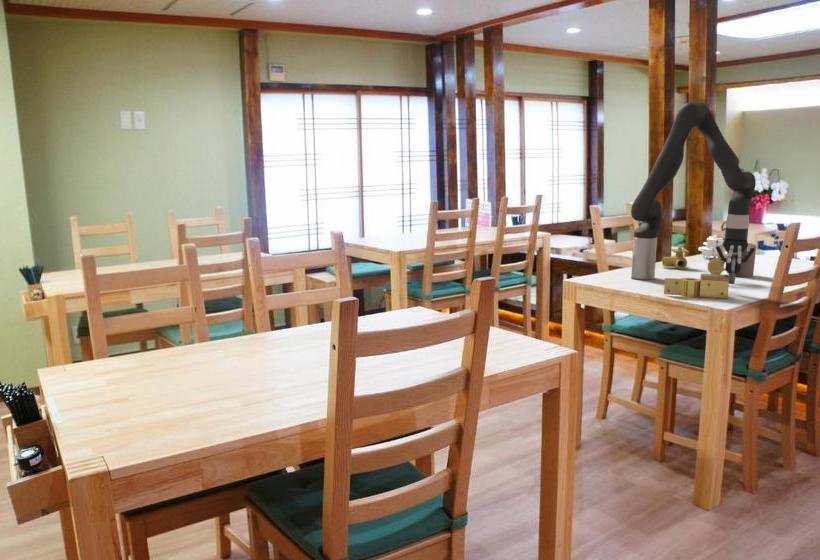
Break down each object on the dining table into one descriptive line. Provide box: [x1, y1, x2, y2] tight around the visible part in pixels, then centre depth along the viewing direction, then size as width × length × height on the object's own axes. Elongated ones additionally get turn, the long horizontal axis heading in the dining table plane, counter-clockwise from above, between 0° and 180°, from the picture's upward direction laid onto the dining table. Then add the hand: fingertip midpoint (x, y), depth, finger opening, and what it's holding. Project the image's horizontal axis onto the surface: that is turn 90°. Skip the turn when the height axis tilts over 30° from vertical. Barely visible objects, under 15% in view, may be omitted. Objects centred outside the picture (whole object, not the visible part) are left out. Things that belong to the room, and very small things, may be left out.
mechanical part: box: [698, 234, 726, 260], centre depth 331 cm, size 11×12×12 cm
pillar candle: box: [727, 242, 757, 278], centre depth 286 cm, size 10×10×15 cm
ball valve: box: [662, 246, 690, 270], centre depth 307 cm, size 13×10×10 cm
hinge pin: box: [728, 252, 738, 285], centre depth 250 cm, size 4×4×12 cm
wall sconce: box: [707, 220, 729, 276], centre depth 271 cm, size 14×10×25 cm
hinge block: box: [663, 273, 730, 300], centre depth 247 cm, size 22×7×8 cm, turn 72°
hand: (732, 272), depth 250 cm, fingers closed on hinge pin, 2 cm apart
